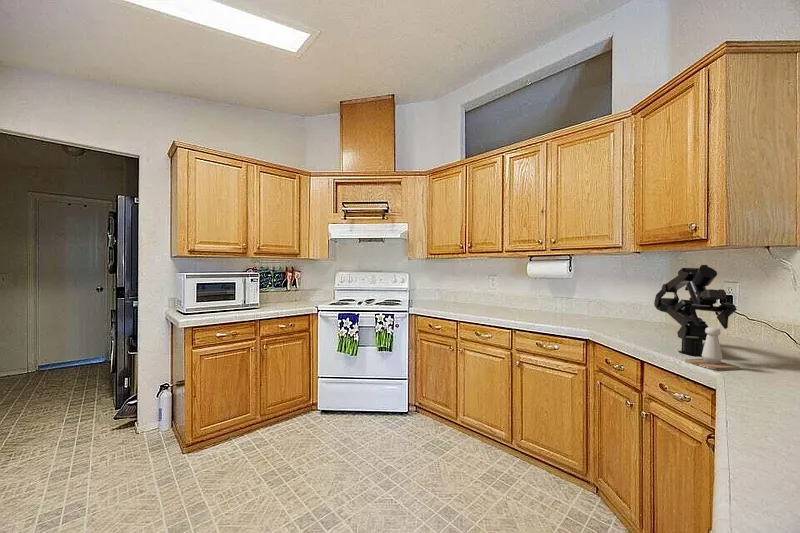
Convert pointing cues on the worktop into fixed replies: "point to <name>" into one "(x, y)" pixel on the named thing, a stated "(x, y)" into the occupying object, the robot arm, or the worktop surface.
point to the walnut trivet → (713, 366)
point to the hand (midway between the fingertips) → (712, 326)
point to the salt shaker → (712, 346)
